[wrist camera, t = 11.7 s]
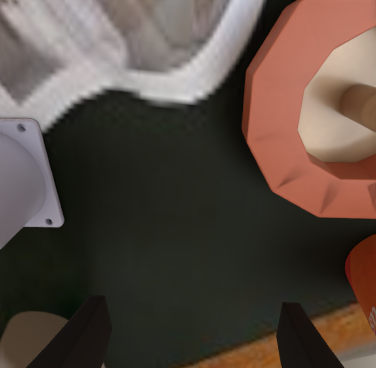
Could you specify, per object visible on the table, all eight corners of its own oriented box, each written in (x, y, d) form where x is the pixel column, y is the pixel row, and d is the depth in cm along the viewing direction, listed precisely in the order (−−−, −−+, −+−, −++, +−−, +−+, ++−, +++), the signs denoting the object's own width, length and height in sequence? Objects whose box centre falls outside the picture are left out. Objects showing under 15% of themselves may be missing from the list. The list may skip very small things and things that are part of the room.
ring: (236, 195, 18) (240, 215, 16) (253, -33, 13) (263, -48, 10) (428, 199, 17) (459, 221, 15) (533, -41, 12) (605, -59, 10)
